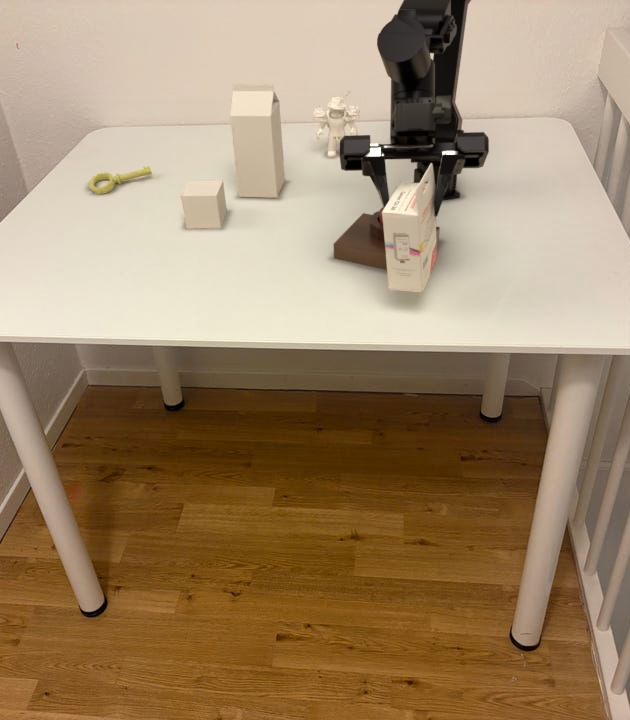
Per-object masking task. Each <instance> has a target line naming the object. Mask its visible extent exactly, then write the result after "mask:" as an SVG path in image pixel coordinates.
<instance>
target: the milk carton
mask: <svg viewBox="0 0 630 720" xmlns="http://www.w3.org/2000/svg"><path fill="white" fill-rule="evenodd" d="M274 86H275V85H274V84H271V83H268V84H267V83H266V84H265V83H264V84H263V83H260V84H259V83H258V84H255V83H253V84H252V83H251V84H250V83H248V84H245V83H244V84H243V83H241V84H238V83H237V84H235V83H234V84H232V97H231V104H230V110H229V120H230V128H231V137H232V145H233V154H234V164H235V172H236V173H235V174H236V180H237V181H236V182H237V189H238V196H239V197H240V198H266V199H267V198H269V199H278V196H279V195H280V192H281V191H282V188H283V186H284V184H285V181H286V175H285V161H284V145H283V133H282V119H281V118H282V117H281V106H280V105H281V104H280V100H279V98H278V96H277V94H276V92H275V88H274Z"/></svg>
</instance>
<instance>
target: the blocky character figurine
mask: <svg viewBox="0 0 630 720" xmlns="http://www.w3.org/2000/svg"><path fill="white" fill-rule="evenodd" d="M351 92H352V90H348V91H347V92H345V93H341V97H340V96H332V97H331V99H330V101H329V102H327V110H326V111H325V109H324V107H323V106H322V107H321V106H320V105H319V107H315V108H314V111H313V112H312V115H313V121H315V120H316V121H317V122H318V123H319V125H318V128H317V131H316V133H315V136H316V139H317V140H319V139H320V135H322V136H324V129H325V127H327V128H328V129H329V130H328V147H327V157H329V158H334V157H336V156H337V150H336V143H337V142H336V141H337V139H338V143H339V144H338V145H339V146H338V154H339V155H340V140H341V139H342V138H343V137H344V136H346V131H345V127H346V126H347V124H348V125H349V127H350V130H349V136H352V134H353V135H359V132H358V129H357V126H356V123H355V120H357V118H358V117H360V109H359V106H357V105H352V104H351V105H348V109H346V107H347V103H346V102H344V100H346V98H347V97H349V96H350V95H351ZM352 117H354V118H352ZM320 119H321V120H320Z"/></svg>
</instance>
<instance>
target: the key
mask: <svg viewBox="0 0 630 720" xmlns="http://www.w3.org/2000/svg"><path fill="white" fill-rule="evenodd" d="M148 175H152V169H151V167H150V165H147V166H143V168H142V169H139V170H133V171H131V172H126V173H123V174H119V173H116V174H115V176H113V175H112V174H111V173H110V172H100V173H97V174H95V175H94V176H92V178H91V179H90V180H89V183H88V188H89V190H90V191H91V192H92V193H94V194H97V195H104V194H107V193H109V192H111V191H113V189H114V188H115V187H116V186H115V185H116V184H118V185H121V184H122V182H125V181H129V180H133V179H136V178H140V177H145V176H148ZM102 180H103V181H104V180H108V181H109V182H107V184H106V185H103V186H100V187H96V186H95V185H96V184H97V183H98V182H100V181H102Z"/></svg>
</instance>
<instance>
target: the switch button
mask: <svg viewBox="0 0 630 720" xmlns="http://www.w3.org/2000/svg"><path fill="white" fill-rule="evenodd" d="M383 210H384V208H383V206H382V207H381V208H380V209H379V211H380V215H379V222H380V223H381V224H382V225H383V217H382V211H383Z"/></svg>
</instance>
